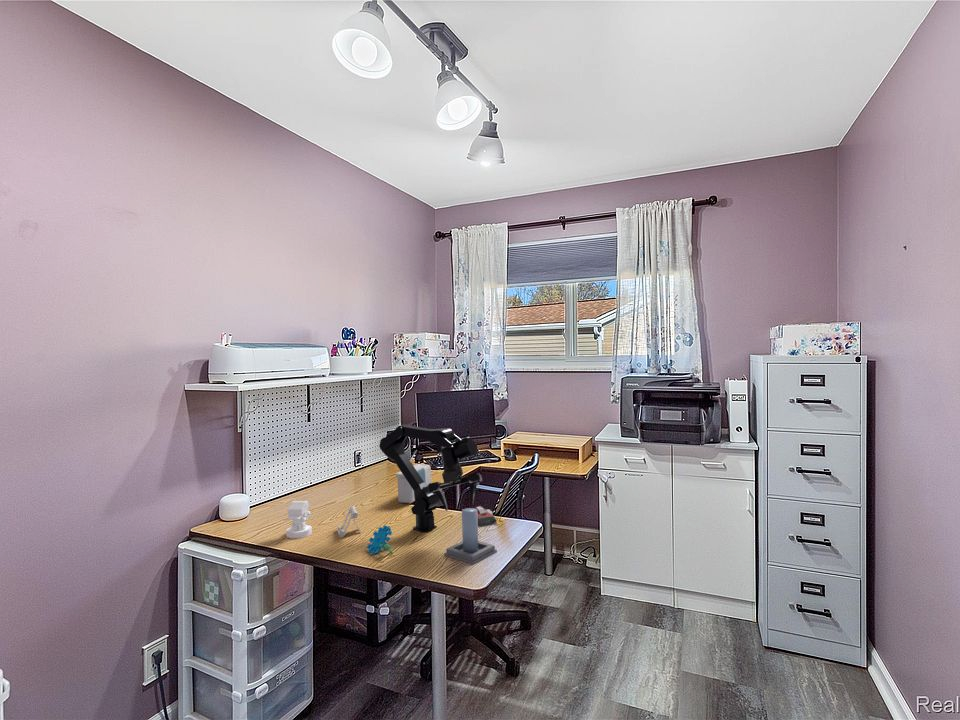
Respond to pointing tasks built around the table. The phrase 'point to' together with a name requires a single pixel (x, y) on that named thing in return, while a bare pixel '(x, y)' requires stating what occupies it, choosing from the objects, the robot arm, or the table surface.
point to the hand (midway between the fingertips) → (459, 507)
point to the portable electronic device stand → (353, 515)
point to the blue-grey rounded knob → (470, 530)
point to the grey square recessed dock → (459, 554)
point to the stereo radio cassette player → (404, 487)
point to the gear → (380, 540)
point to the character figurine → (298, 519)
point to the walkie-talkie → (485, 516)
